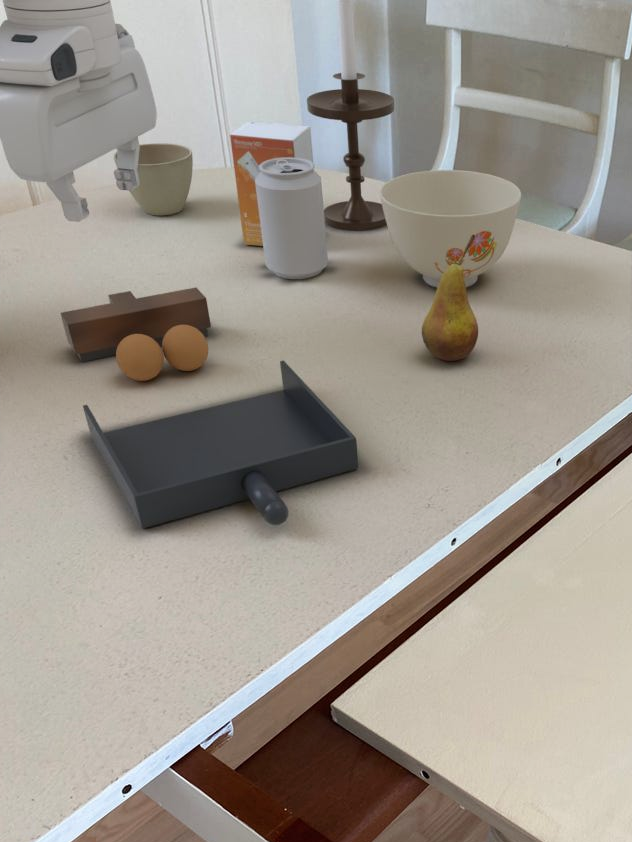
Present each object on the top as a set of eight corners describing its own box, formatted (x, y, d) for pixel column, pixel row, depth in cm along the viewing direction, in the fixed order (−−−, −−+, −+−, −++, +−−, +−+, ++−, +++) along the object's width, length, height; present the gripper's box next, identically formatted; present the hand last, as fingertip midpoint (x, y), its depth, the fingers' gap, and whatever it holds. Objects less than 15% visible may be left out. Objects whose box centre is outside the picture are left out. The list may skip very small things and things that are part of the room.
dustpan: (91, 437, 87) (82, 405, 85) (287, 390, 95) (283, 360, 93) (165, 571, 73) (157, 537, 71) (389, 504, 81) (387, 471, 78)
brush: (78, 364, 98) (67, 324, 95) (59, 332, 103) (48, 293, 100) (212, 336, 103) (206, 297, 101) (188, 307, 109) (181, 270, 106)
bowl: (380, 306, 110) (376, 214, 103) (385, 253, 122) (382, 168, 115) (521, 307, 111) (525, 216, 104) (512, 255, 123) (516, 170, 116)
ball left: (128, 392, 94) (118, 349, 91) (116, 374, 97) (105, 331, 94) (173, 382, 96) (164, 340, 93) (160, 364, 98) (151, 322, 95)
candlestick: (372, 200, 137) (357, -114, 113) (412, 223, 130) (405, -105, 107) (303, 213, 132) (271, -111, 109) (341, 238, 125) (316, -101, 102)
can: (284, 286, 114) (271, 177, 106) (255, 266, 118) (241, 160, 110) (340, 273, 117) (332, 166, 109) (310, 253, 121) (300, 150, 113)
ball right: (174, 382, 96) (165, 339, 93) (161, 364, 98) (152, 322, 95) (217, 372, 97) (210, 330, 94) (203, 355, 100) (196, 314, 97)
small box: (243, 246, 123) (227, 133, 114) (261, 228, 127) (247, 119, 119) (304, 252, 122) (293, 139, 113) (320, 234, 126) (311, 124, 118)
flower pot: (206, 197, 136) (197, 142, 131) (195, 222, 129) (185, 164, 124) (133, 197, 136) (122, 141, 131) (118, 222, 128) (105, 164, 123)
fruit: (426, 343, 103) (424, 227, 95) (480, 347, 103) (483, 230, 95) (418, 367, 99) (415, 247, 91) (474, 371, 99) (476, 251, 91)
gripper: (97, 17, 94) (129, 169, 104) (-37, 62, 80) (15, 234, 89) (156, 21, 93) (183, 174, 102) (31, 68, 78) (76, 242, 88)
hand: (104, 203), depth 96 cm, fingers open, 8 cm apart
